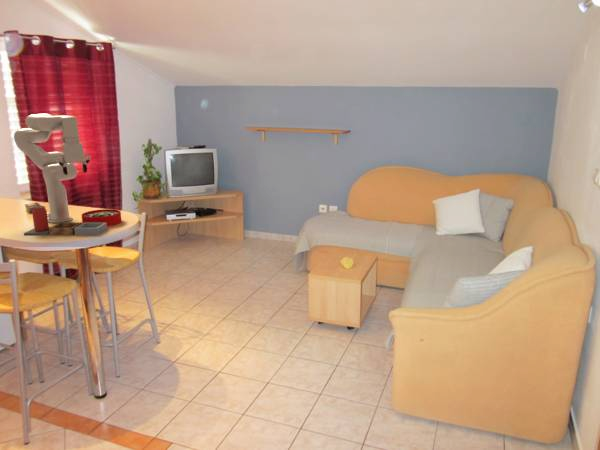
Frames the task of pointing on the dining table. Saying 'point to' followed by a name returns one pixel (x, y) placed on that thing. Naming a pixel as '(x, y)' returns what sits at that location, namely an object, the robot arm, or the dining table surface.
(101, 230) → the slate frame
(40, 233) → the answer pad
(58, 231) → the walnut frame
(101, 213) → the red round tin
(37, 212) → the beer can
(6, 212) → the dining table surface
